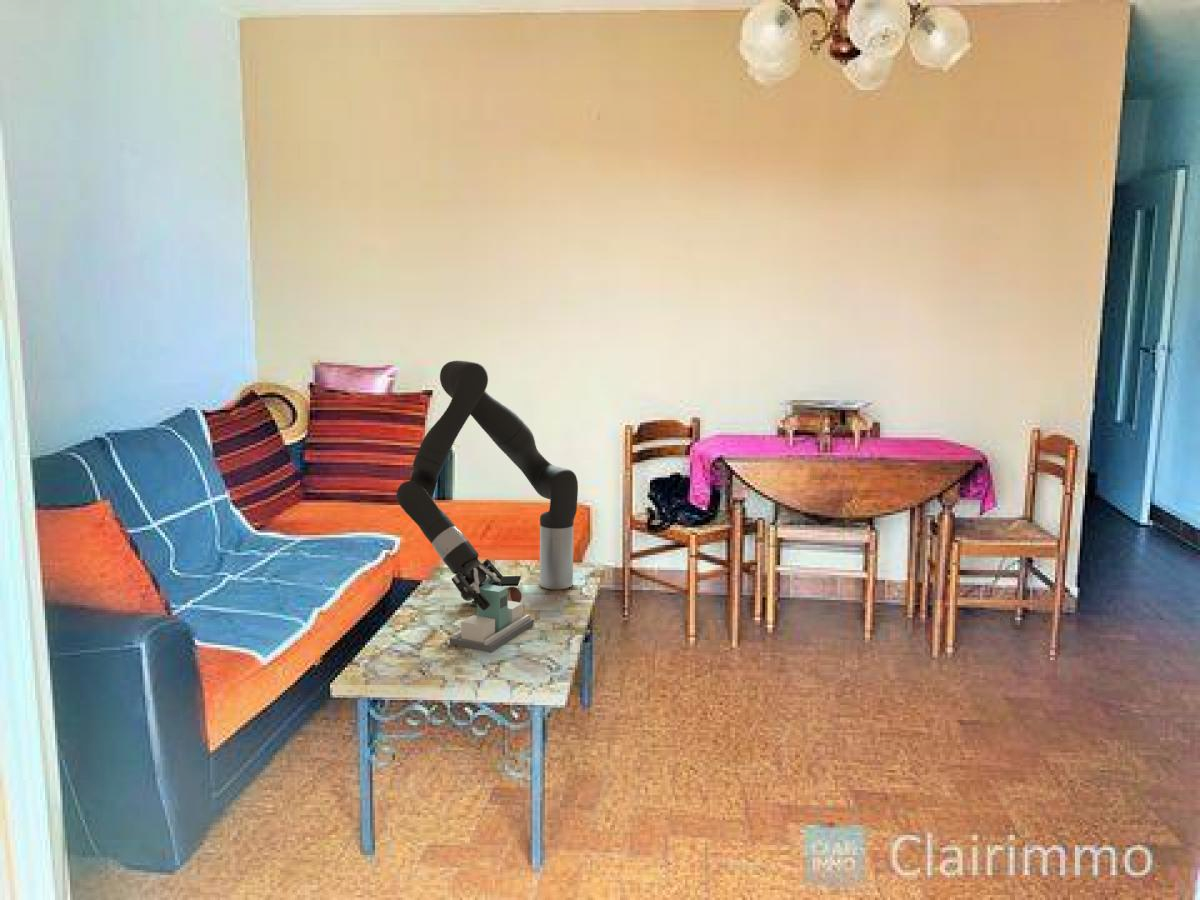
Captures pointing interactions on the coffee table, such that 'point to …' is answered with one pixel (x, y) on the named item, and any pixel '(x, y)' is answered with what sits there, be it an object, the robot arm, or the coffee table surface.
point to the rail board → (494, 636)
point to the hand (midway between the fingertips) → (496, 602)
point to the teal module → (495, 605)
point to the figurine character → (512, 591)
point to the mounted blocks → (488, 623)
